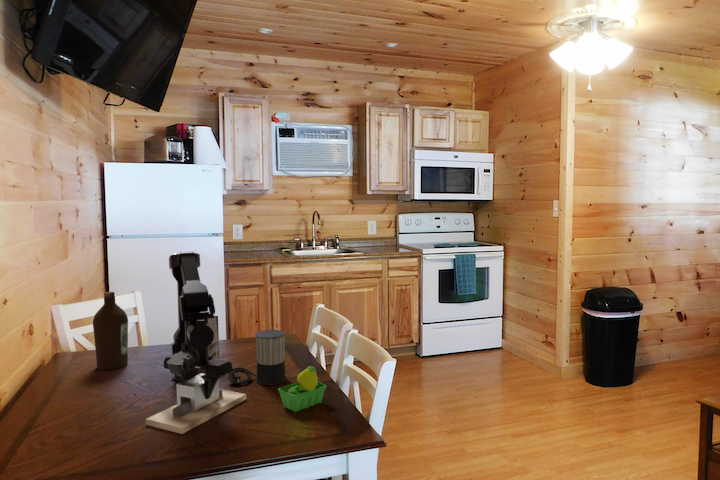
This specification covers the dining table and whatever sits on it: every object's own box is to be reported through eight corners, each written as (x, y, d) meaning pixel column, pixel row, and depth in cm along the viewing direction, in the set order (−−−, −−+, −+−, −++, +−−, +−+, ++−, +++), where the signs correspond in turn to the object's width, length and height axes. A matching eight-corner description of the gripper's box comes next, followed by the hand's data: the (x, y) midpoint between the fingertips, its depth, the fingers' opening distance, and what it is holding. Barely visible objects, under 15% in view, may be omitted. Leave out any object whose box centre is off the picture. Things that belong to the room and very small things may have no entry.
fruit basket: (310, 395, 148) (309, 356, 147) (330, 404, 142) (330, 363, 141) (277, 407, 140) (276, 365, 139) (297, 416, 134) (296, 373, 133)
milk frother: (292, 380, 161) (291, 332, 160) (249, 394, 150) (247, 343, 149) (265, 370, 171) (264, 325, 170) (222, 382, 160) (221, 334, 159)
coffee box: (220, 361, 180) (219, 315, 179) (209, 367, 174) (207, 319, 173) (198, 359, 183) (196, 313, 182) (186, 365, 177) (184, 317, 176)
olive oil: (91, 372, 170) (87, 296, 168) (99, 362, 181) (96, 290, 179) (126, 369, 172) (122, 294, 171) (132, 360, 183) (129, 289, 181)
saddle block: (202, 394, 143) (201, 373, 142) (219, 398, 140) (218, 376, 140) (177, 406, 135) (176, 383, 134) (194, 410, 132) (194, 387, 132)
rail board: (212, 392, 151) (212, 380, 151) (246, 399, 146) (246, 387, 145) (145, 424, 129) (145, 411, 129) (182, 434, 124) (181, 419, 124)
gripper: (145, 341, 133) (148, 401, 134) (202, 350, 125) (204, 414, 126) (178, 331, 143) (180, 387, 144) (232, 339, 135) (234, 398, 136)
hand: (198, 396), depth 137 cm, fingers closed on saddle block, 6 cm apart
